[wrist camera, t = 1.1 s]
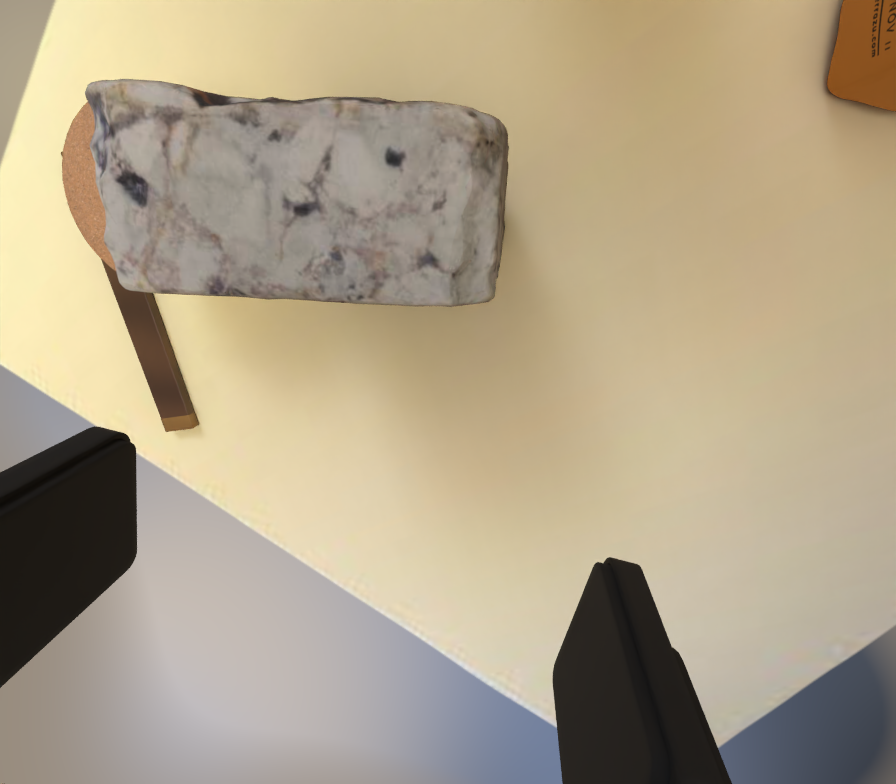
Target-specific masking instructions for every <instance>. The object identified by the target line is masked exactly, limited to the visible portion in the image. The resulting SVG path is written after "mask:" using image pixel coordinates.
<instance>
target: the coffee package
mask: <svg viewBox="0 0 896 784" xmlns="http://www.w3.org/2000/svg"><path fill="white" fill-rule="evenodd" d="M827 86H828V89H829V91H830V92H831V93H832V94H834V95H835V96H837V97H839V98H842V99H847V100H853V101H858V102H862V103H865V104H868V105H872V106H875V107H879V108H883V109H887V110H890V111H896V0H843V3H842V7H841V12H840V21H839V31H838V37H837V42H836V45H835V49H834V53H833V57H832V60H831V65H830V70H829V75H828V80H827Z"/></svg>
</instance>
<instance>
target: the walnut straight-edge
mask: <svg viewBox="0 0 896 784" xmlns="http://www.w3.org/2000/svg"><path fill="white" fill-rule="evenodd" d="M61 155H62V157H63V152H61ZM101 260H102V259H101ZM102 262H103V265H104V268H105V270H106V273H107V276H108V278H109V281H110V284H111V286H112V289H113V292H114V294H115V297H116V300H117V302H118V305H119V308H120V310H121V313H122V316H123V318H124V321H125V324H126V326H127V329H128V332H129V334H130V337H131V340H132V342H133V345H134V347H135V350H136V353H137V355H138V358H139V361H140V363H141V366H142V369H143V371H144V374H145V377H146V379H147V382H148V385H149V387H150V390H151V393H152V395H153V398H154V401H155V403H156V406H157V409H158V411H159V414H160V417H161V420H162V423H163V425H164V428H165V431H166V432H169V431H176V430H184V429H192V428H194V427H196V426H197V425H199V424H198V421H197V418H196V415H195V412H194V410H193V407H192V404H191V401H190V399H189V396H188V393H187V390H186V387H185V384H184V382H183V379H182V376H181V373H180V370H179V367H178V365H177V362H176V359H175V356H174V353H173V350H172V348H171V345H170V342H169V339H168V336H167V333H166V331H165V328H164V325H163V322H162V319H161V316H160V314H159V311H158V308H157V305H156V302H155V299H154V297H153V294H152V293H148V292H139V291H131V290H127V289H125V288H124V287H123V286H122V285H121V284H120V283H119V280H118V276H117V272H116V271H115V270H114V269H112V268H111V267H110V266H109V265H107V264H106V263H105V262H104V261H103V260H102Z"/></svg>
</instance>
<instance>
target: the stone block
mask: <svg viewBox="0 0 896 784" xmlns="http://www.w3.org/2000/svg"><path fill="white" fill-rule="evenodd" d="M85 95H86V98H87V100H88V102H89V104H90V106H91V108H92V111H93V114H94V123H95V131H94V134H93V137H92V139H91V142H90V149H91V152H92V155H93V158H94V161H95V170H96V184H97V188H98V191H99V195H100V198H101V201H102V203H103V206H104V209H105V217H106V227H105V233H104V243H105V245H106V246H107V248H108V250H109V252H110V254H111V256H112V258H113V261H114V264H115V268H116V272H117V276H118V280H119V283H120V284H121V285H122V286H123V287H124V288H125V289H127V290H131V291H139V292H148V293H161V294H184V295H206V296H237V297H250V298H260V299H297V300H313V301H323V302H341V303H355V304H380V305H402V306H446V307H452V306H461V305H469V304H478V303H484V302H489V301H490V300H492V299H493V298H494V296H495V289H496V286H495V284H496V279H497V277H498V271H499V267H500V259H501V253H502V242H503V236H504V230H505V225H504V211H505V196H506V186H507V175H508V162H507V159H508V149H509V146H508V133H507V130H506V128H505V126H504V125H503V124H502V122H501V121H500V120H499V119H497V118H495V117H494V116H492V115H490V114H486V113H482V112H479V111H477V110H475V109H473V108H469V107H465V106H461V105H455V104H448V103H441V102H434V101H408V102H396V101H391V100H386V99H382V98H368V97H323V98H313V99H306V100H299V101H290V100H284V99H278V98H274V97H269V98H266V99H252V98H242V97H228V96H223V95H218V94H213V93H208V92H204V91H200V90H197V89H193V88H190V87H187V86H183V85H178V84H173V83H167V82H161V81H149V80H133V79H119V80H101V81H96V82H92V83H90V84H89V85H88V86H87V89H86V91H85Z"/></svg>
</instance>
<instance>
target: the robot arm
mask: <svg viewBox="0 0 896 784" xmlns="http://www.w3.org/2000/svg"><path fill="white" fill-rule="evenodd" d="M136 505H137V504H136V448H135V446H134V444H132V443H130V439H129V437H128V435H126V434H124V433H121V432H117V431H113V430H109V429H105V428H101V427H92V428H89V429H86V430H84V431H82V432H80V433H78V434H77V435H75V436H72V437H71V438H68V439H66V440H65V441H63V442H61V443H59V444H56V445H54V446H52V447H50V448H48V449H46V450H45V451H43V452H40V453H38V454H36V455H34V456H33V457H30V458H29V459H27V460H24V461H22V462H20V463H18V464H17V465H14V466H13V467H11V468H9V469H7V470H5V471H2V472H0V687H2V685H4V684H5V683H6V682H7V681H8V680H9V679H10V678H11V677H12V676H13V675H15V674H16V673H17V672H18V671H19V670H20V669H21V668H22V667H23V666H24V665H25V664H26V663H27V662H29V661H30V660H31V659H32V658H33V657H34V656H35V655H36V654H37V653H38V652H39V651H40V650H42V649H43V648H44V647H45V646H46V645H47V644H48V643H49V642H50V641H51V640H52V639H53V638H55V637H56V636H57V635H58V634H59V633H60V632H61V631H62V630H63V629H64V628H65V627H66V626H68V625H69V624H70V623H71V622H72V621H73V620H74V619H75V618H76V617H77V616H78V615H79V614H81V613H82V612H83V611H84V610H85V609H86V608H87V607H88V606H89V605H90V604H91V603H92V602H94V601H95V600H96V599H97V598H98V597H99V596H100V595H101V594H102V593H103V592H104V591H105V590H106V589H108V588H109V587H110V586H111V585H112V584H113V583H114V582H115V581H116V580H117V579H118V578H119V577H121V576H122V575H123V574H124V573H125V572H126V571H127V570H128V569H129V568H130V566H131V565H132V563H133V561H134V559H135V557H136V554H137V509H136V508H137V506H136ZM553 690H554V700H555V710H556V720H557V730H558V741H559V751H560V760H561V771H562V781H563V784H732V783H731V780H730V778H729V776H728V773H727V771H726V768H725V765H724V763H723V760H722V758H721V755H720V753H719V750H718V748H717V745H716V743H715V740H714V738H713V735H712V733H711V730H710V727H709V725H708V722H707V720H706V717H705V715H704V712H703V710H702V707H701V705H700V702H699V700H698V697H697V695H696V692H695V690H694V687H693V685H692V682H691V680H690V677H689V675H688V672H687V670H686V667H685V665H684V662H683V660H682V658H681V656H680V654H679V652H677V651H676V650H675V649H674V648H672V647H671V644H670V641H669V639H668V636H667V634H666V631H665V628H664V626H663V623H662V621H661V618H660V615H659V613H658V610H657V608H656V605H655V602H654V600H653V597H652V595H651V592H650V589H649V587H648V584H647V582H646V579H645V576H644V574H643V571H642V569H641V567H640V566H639V565H637V564H634V563H630V562H626V561H622V560H618V559H615V558H611V557H609V558H607V559H606V560H605V562H604V564H603V563H599V562H597V563H596V564H595V565H594V567H593V569H592V571H591V574H590V576H589V579H588V581H587V584H586V586H585V589H584V591H583V594H582V596H581V599H580V601H579V604H578V606H577V609H576V611H575V614H574V616H573V619H572V621H571V624H570V626H569V629H568V631H567V634H566V636H565V639H564V641H563V644H562V646H561V649H560V651H559V654H558V656H557V659H556V661H555V665H554V670H553ZM0 784H3V783H0Z"/></svg>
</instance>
